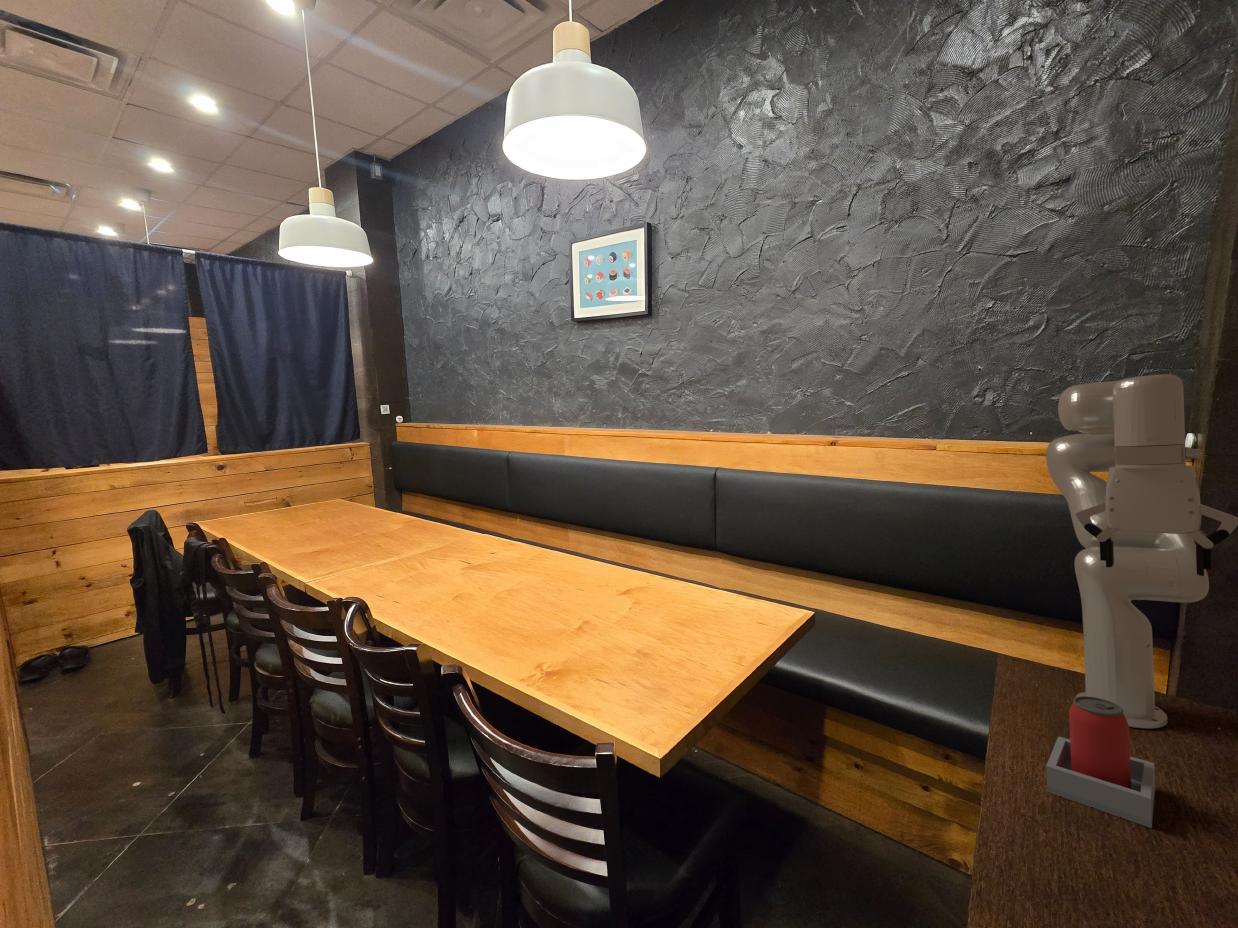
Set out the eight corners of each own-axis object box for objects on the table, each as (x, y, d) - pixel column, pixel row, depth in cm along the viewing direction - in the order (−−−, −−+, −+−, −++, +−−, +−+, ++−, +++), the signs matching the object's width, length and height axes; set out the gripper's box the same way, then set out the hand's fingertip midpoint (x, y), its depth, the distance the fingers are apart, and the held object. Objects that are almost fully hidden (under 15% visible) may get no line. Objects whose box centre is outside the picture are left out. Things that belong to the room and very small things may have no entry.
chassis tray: (1059, 760, 86) (1058, 736, 86) (1155, 789, 78) (1154, 762, 77) (1047, 791, 78) (1046, 765, 78) (1151, 828, 70) (1150, 798, 70)
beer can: (1143, 799, 74) (1140, 716, 74) (1090, 796, 75) (1087, 714, 75) (1110, 771, 81) (1107, 695, 80) (1061, 768, 82) (1058, 693, 82)
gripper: (1236, 454, 75) (1239, 572, 75) (1077, 458, 88) (1081, 559, 88) (1239, 456, 70) (1243, 583, 70) (1070, 460, 83) (1074, 567, 83)
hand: (1153, 569), depth 79 cm, fingers open, 9 cm apart
